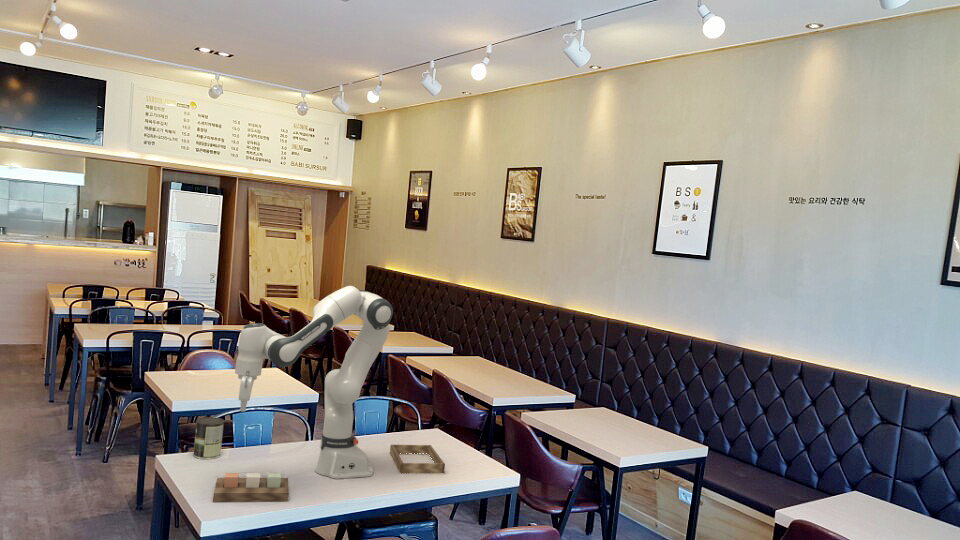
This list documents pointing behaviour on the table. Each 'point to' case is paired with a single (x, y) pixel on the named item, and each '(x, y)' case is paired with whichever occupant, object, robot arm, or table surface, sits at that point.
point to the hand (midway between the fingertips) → (243, 407)
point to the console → (251, 492)
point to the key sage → (274, 480)
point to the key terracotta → (231, 480)
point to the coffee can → (208, 438)
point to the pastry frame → (417, 467)
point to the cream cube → (252, 480)
